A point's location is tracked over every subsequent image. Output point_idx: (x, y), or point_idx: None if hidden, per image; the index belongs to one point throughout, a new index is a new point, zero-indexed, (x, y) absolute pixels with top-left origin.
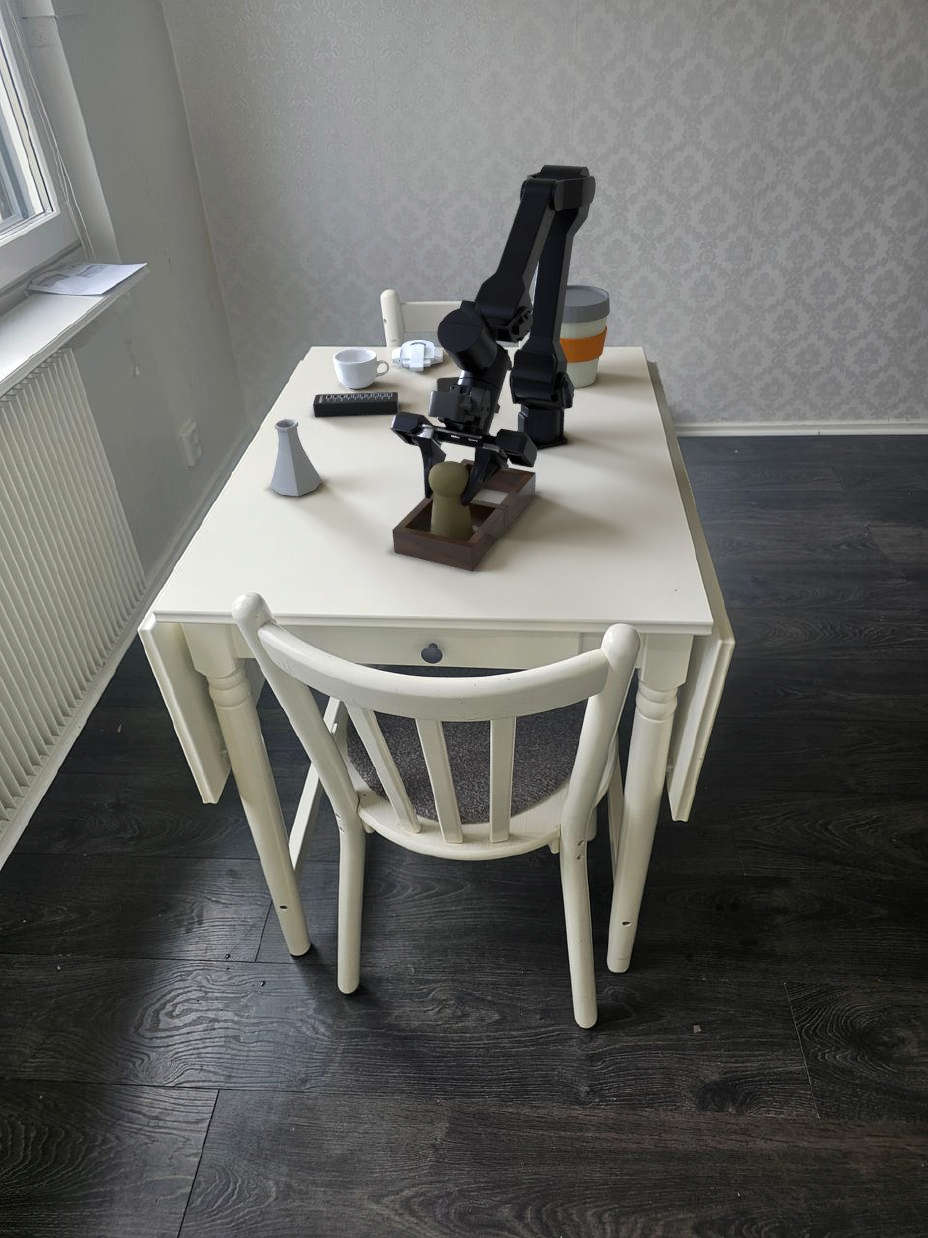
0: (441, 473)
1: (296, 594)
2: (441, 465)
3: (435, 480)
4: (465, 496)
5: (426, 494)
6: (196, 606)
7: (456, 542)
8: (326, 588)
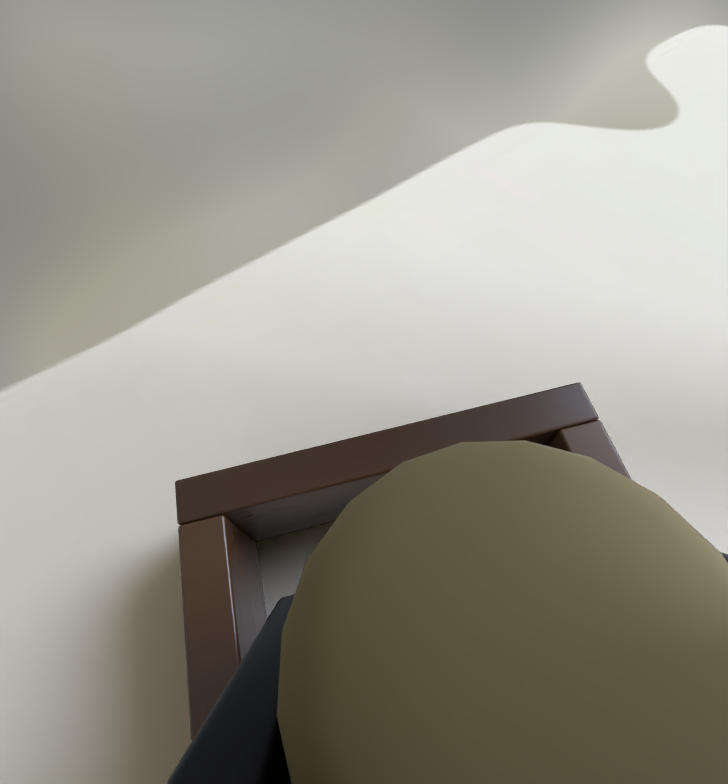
0: (486, 475)
1: (564, 157)
2: (644, 619)
3: (504, 441)
4: (275, 630)
5: None
6: (678, 45)
7: (263, 473)
8: (530, 205)
